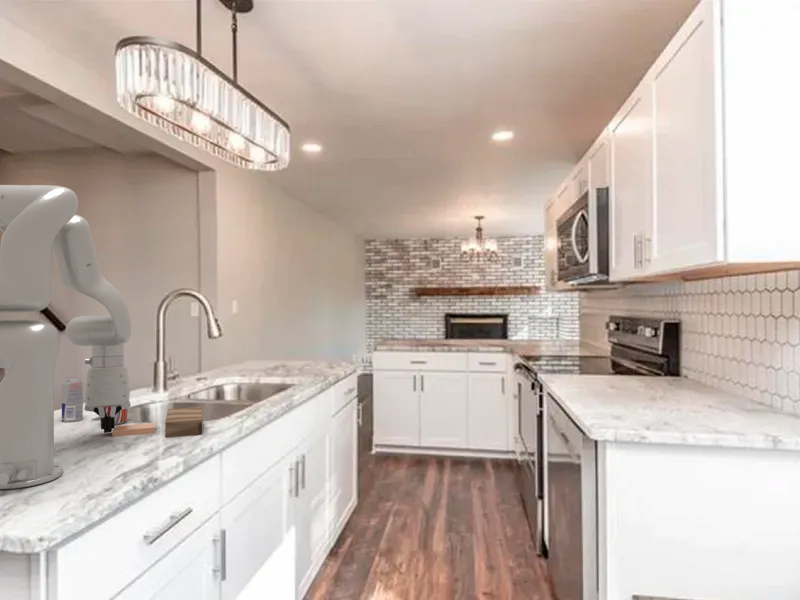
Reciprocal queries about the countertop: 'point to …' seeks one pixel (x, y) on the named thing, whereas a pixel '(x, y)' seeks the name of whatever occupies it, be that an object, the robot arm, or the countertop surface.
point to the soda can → (118, 415)
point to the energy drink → (72, 400)
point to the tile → (134, 429)
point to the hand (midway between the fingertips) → (108, 431)
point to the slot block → (183, 422)
